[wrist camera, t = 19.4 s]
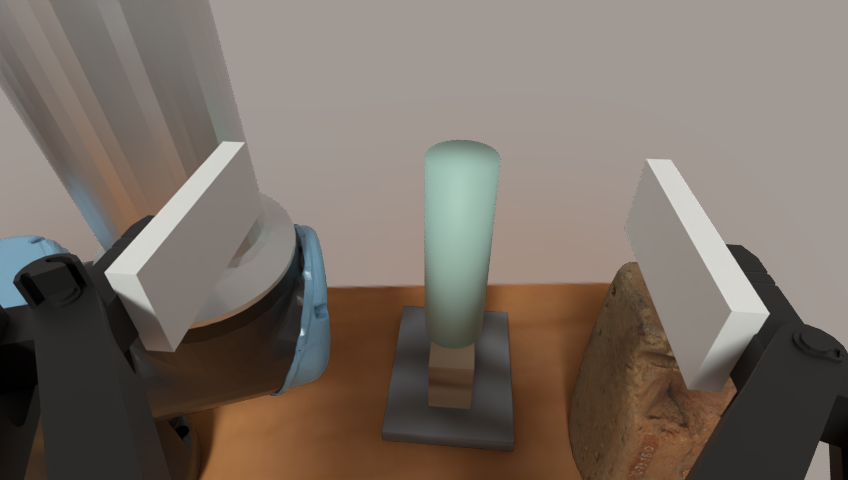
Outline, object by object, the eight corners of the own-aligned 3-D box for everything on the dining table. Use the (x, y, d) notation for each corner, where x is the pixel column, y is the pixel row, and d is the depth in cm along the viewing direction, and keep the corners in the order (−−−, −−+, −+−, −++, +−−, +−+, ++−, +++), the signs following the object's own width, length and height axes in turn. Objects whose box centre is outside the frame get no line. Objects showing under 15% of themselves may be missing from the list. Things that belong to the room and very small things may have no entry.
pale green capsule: (417, 341, 45) (415, 170, 34) (432, 300, 49) (434, 136, 38) (476, 353, 44) (494, 180, 33) (486, 311, 48) (505, 144, 37)
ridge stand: (512, 451, 44) (522, 403, 40) (382, 440, 45) (377, 391, 41) (505, 321, 57) (512, 273, 52) (404, 314, 58) (402, 266, 53)
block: (561, 406, 48) (608, 248, 36) (639, 412, 47) (714, 253, 35) (580, 524, 39) (650, 369, 27) (676, 532, 39) (791, 378, 27)
